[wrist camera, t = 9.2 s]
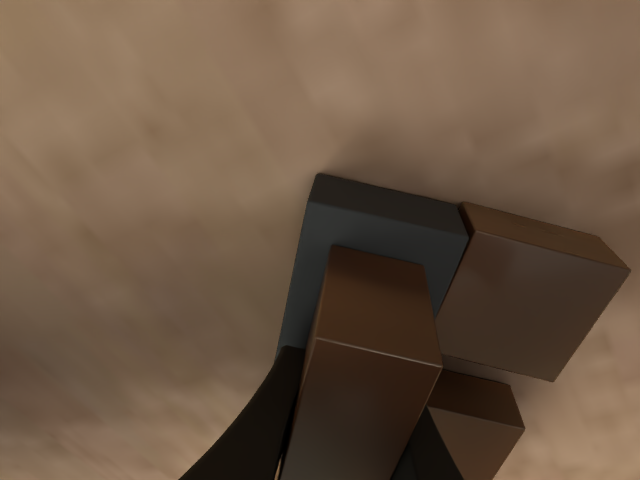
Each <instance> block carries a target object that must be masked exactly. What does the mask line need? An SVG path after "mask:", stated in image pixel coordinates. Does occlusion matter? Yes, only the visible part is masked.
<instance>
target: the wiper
mask: <svg viewBox="0 0 640 480" xmlns="http://www.w3.org/2000/svg"><path fill="white" fill-rule="evenodd" d="M468 240H469V236H468V234H467V231H466V229H465V226H464V224H463V221H462V219H461V217H460V214H459V212H458V209H457V207H456V205H454V204H449V203H445V202H441V201H436V200H432V199H428V198H423V197H419V196H415V195H410V194H406V193H402V192H397V191H393V190H388V189H384V188H380V187H375V186H371V185H367V184H362V183H358V182H354V181H349V180H345V179H341V178H336V177H332V176H328V175H323V174H317V175H316V177H315V180H314V183H313V186H312V189H311V192H310V195H309V198H308V201H307V205H306V210H305V215H304V219H303V224H302V229H301V234H300V239H299V244H298V249H297V254H296V259H295V264H294V269H293V274H292V278H291V283H290V288H289V293H288V298H287V303H286V308H285V313H284V318H283V323H282V328H281V333H280V337H279V342H278V347H277V352H276V357H275V361H276V359H277V357H278V355H279V353H280V350H281V347H283V346H285V345H289V346H293V347H297V348H302V349H306V351H305V357H304V363H303V368H302V374H301V379H300V384H299V388H298V392H297V396H296V400H295V404H294V408H293V412H292V416H291V420H290V424H289V428H288V432H287V436H286V440H285V444H284V448H283V452H282V456H281V459H280V462H279V465H278V469H277V472H276V475H275V479H274V480H391V478H392V475H393V473H394V471H395V469H396V467H397V465H398V462H399V460H400V458H401V456H402V454H403V452H404V450H405V447H406V445H407V443H408V441H409V439H410V437H411V435H412V432H413V430H414V428H415V426H416V424H417V422H418V420H419V417H420V415H421V413H422V411H423V409H424V407H425V404H426V402H427V400H428V398H429V396H430V394H431V392H432V389H433V387H434V385H435V383H436V381H437V379H438V377H439V374H440V372H441V370H442V368H443V362H442V357H441V351H440V346H439V341H438V336H437V330H436V325H435V318H436V316H437V313H438V311H439V308H440V306H441V304H442V301H443V299H444V297H445V294H446V292H447V290H448V287H449V285H450V282H451V280H452V278H453V275H454V273H455V271H456V268H457V266H458V263H459V261H460V259H461V256H462V254H463V252H464V249H465V247H466V244H467V242H468ZM274 363H275V362H274Z"/></svg>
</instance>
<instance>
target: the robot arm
mask: <svg viewBox="0 0 640 480" xmlns="http://www.w3.org/2000/svg"><path fill="white" fill-rule="evenodd" d="M305 351H306V349H302V348H297V347H293V346H289V345H285V346H283V347H281V350H280V353H279V355H278V357H277V359H276V361H275V363H274V365H273V367H272V368H271V370H270V372H269V373H268V375H267V376H266V378H265V380H264V381H263V383H262V384H261V386H260V387H259V388H258V390H257V391H256V393H255V394H254V396H253V397H252V399H251V400H250V401H249V403H248V404H247V405H246V406H245V408H244V409H243V410H242V412H241V413H240V414H239V415H238V417H237V418H236V419H235V420H234V422H233V423H232V424H231V425H230V426H229V428H228V429H227V430H226V431H225V432H224V433H223V435H222V436H221V437H220V438H219V439H218V440H217V441H216V442H215V443H214V444H213V446H212V447H211V448H210V449H209V450H208V451H207V452H206V453H205V454H204V455H203V456H202V457H201V458H200V459H199V460H198V461H197V462H196V463H195V464H194V465H193V466H192V467H191V468H190V469H189V470H188V471H187V472H186V473H185V474H184V475H183V476H182V477H181V478H180V479H179V480H274V479H275V475H276V472H277V469H278V465H279V462H280V459H281V456H282V452H283V448H284V444H285V440H286V436H287V432H288V428H289V424H290V420H291V416H292V412H293V408H294V404H295V400H296V396H297V392H298V388H299V384H300V379H301V374H302V368H303V363H304V357H305ZM391 480H464V478H463V476H462V474H461V473H460V471H459V469H458V467H457V465H456V464H455V462H454V460H453V458H452V456H451V454H450V452H449V450H448V448H447V446H446V444H445V442H444V440H443V438H442V436H441V434H440V432H439V430H438V428H437V426H436V424H435V422H434V420H433V418H432V415H431V413H430V411H429V409H428V407H427V404H425V407H424V409H423V411H422V413H421V415H420V417H419V420H418V422H417V424H416V426H415V428H414V430H413V432H412V435H411V437H410V439H409V441H408V443H407V445H406V447H405V450H404V452H403V454H402V456H401V458H400V460H399V462H398V465H397V467H396V469H395V471H394V473H393V475H392V478H391Z"/></svg>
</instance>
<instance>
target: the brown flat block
mask: <svg viewBox="0 0 640 480" xmlns="http://www.w3.org/2000/svg"><path fill="white" fill-rule="evenodd" d="M458 212H459V214H460V217H461V219H462V221H463V224H464V226H465V229H466V231H467V234H468V236H469V240H468V242H467V244H466V247H465V249H464V252H463V254H462V256H461V259H460V261H459V263H458V266H457V268H456V271H455V273H454V275H453V278H452V280H451V282H450V285H449V287H448V290H447V292H446V294H445V297H444V299H443V301H442V304H441V306H440V308H439V311H438V313H437V316H436V318H435V325H436V330H437V336H438V341H439V346H440V351H441V354H444V355H447V356H451V357H455V358H459V359H463V360H467V361H471V362H475V363H479V364H483V365H487V366H491V367H494V368H498V369H502V370H506V371H510V372H514V373H518V374H522V375H526V376H530V377H534V378H537V379H541V380H545V381H549V382H554V381H555V379H556V378H557V377H558V375H559V374H560V372H561V371H562V369H563V368H564V367H565V365H566V364H567V362H568V361H569V360H570V358H571V357H572V355H573V354H574V352H575V351H576V350H577V348H578V347H579V345H580V344H581V342H582V341H583V340H584V338H585V337H586V335H587V334H588V332H589V331H590V330H591V328H592V327H593V325H594V324H595V322H596V321H597V320H598V318H599V317H600V315H601V314H602V312H603V311H604V310H605V308H606V307H607V305H608V304H609V302H610V301H611V300H612V298H613V297H614V295H615V294H616V293H617V291H618V290H619V288H620V287H621V285H622V284H623V283H624V281H625V280H626V278H627V277H628V275H629V274H630V273H631V269H630V268H629V267H628V266H627V265H626V264H625V263H624V262H623V261H622V260H621V259H620V258H619V257H618V256H617V255H616V254H615V253H614V252H613V251H612V250H611V249H610V248H609V247H608V246H607V245H606V243H605V242H604V241H603V240H602V239H601V238H600V237H597V236H594V235H590V234H586V233H582V232H578V231H575V230H571V229H567V228H563V227H559V226H555V225H552V224H548V223H544V222H540V221H536V220H532V219H529V218H525V217H521V216H517V215H513V214H509V213H506V212H502V211H498V210H494V209H490V208H487V207H483V206H479V205H475V204H471V203H467V202H462V204H461V206H460V208H459V211H458Z"/></svg>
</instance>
